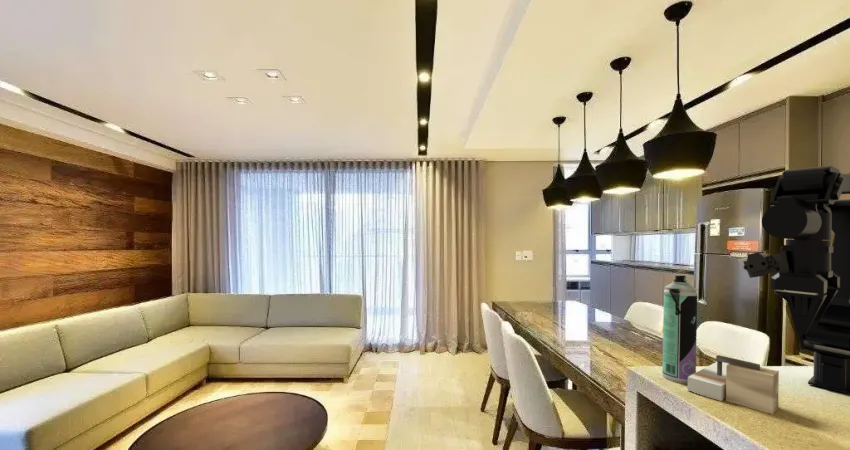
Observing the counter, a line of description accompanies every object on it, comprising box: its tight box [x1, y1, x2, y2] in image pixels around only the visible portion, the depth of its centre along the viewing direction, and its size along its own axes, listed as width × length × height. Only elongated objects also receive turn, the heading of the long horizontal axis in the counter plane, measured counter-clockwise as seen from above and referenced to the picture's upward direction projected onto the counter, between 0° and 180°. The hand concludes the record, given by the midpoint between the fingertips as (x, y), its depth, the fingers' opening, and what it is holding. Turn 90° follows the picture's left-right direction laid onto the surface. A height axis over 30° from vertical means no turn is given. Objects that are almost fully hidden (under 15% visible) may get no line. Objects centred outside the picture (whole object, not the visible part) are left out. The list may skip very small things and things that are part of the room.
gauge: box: [715, 354, 780, 415], centre depth 67 cm, size 4×8×7 cm, turn 38°
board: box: [687, 361, 729, 402], centre depth 74 cm, size 18×5×3 cm, turn 128°
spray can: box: [661, 275, 698, 384], centre depth 77 cm, size 6×6×20 cm
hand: (806, 330), depth 68 cm, fingers open, 9 cm apart
